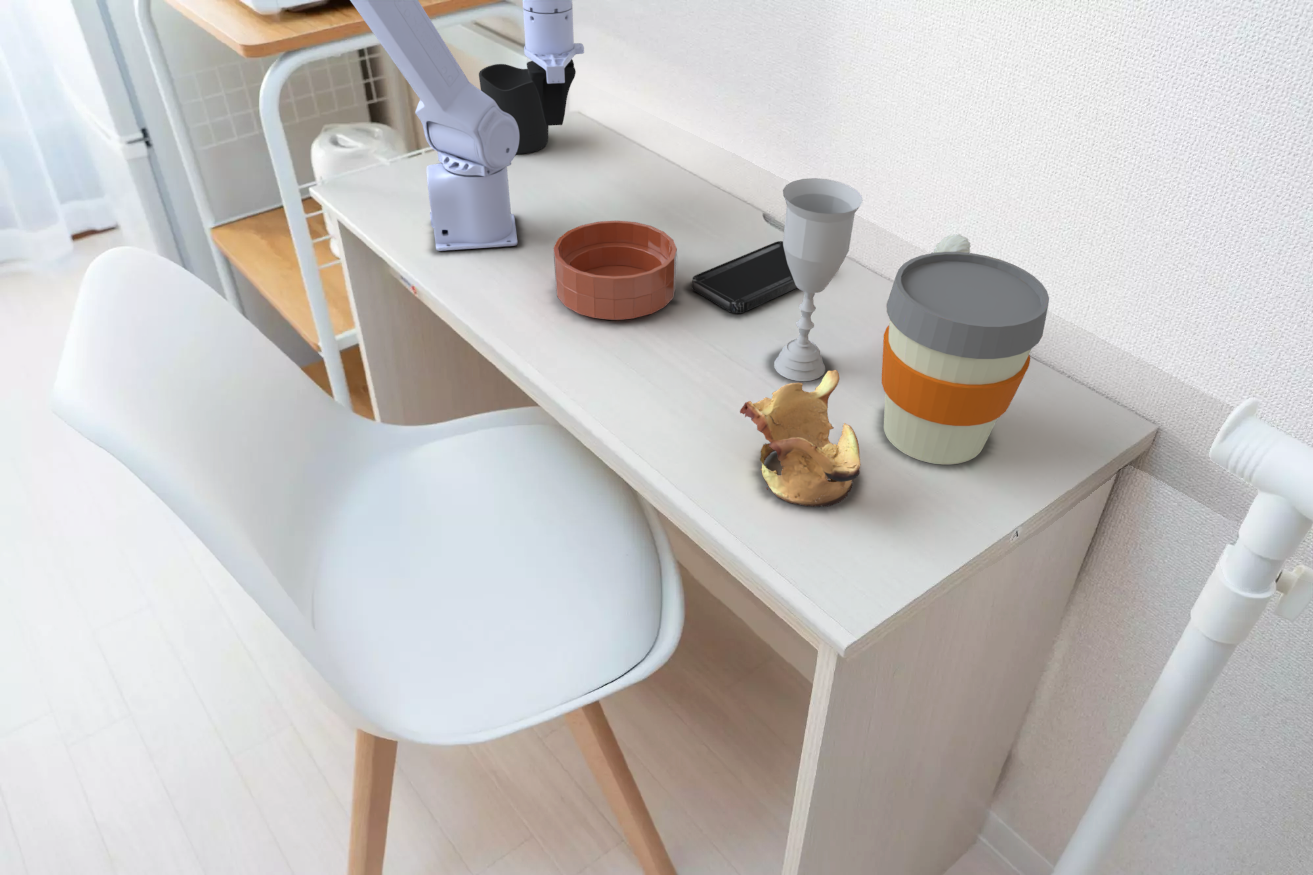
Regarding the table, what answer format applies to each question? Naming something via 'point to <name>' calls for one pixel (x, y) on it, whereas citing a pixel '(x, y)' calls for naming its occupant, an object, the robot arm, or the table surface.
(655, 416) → the table surface
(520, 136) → the pen holder
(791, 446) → the yellow irregular figure
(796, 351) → the chalice
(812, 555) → the table surface
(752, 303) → the phone
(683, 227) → the table surface
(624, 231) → the bowl
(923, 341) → the reusable coffee cup
